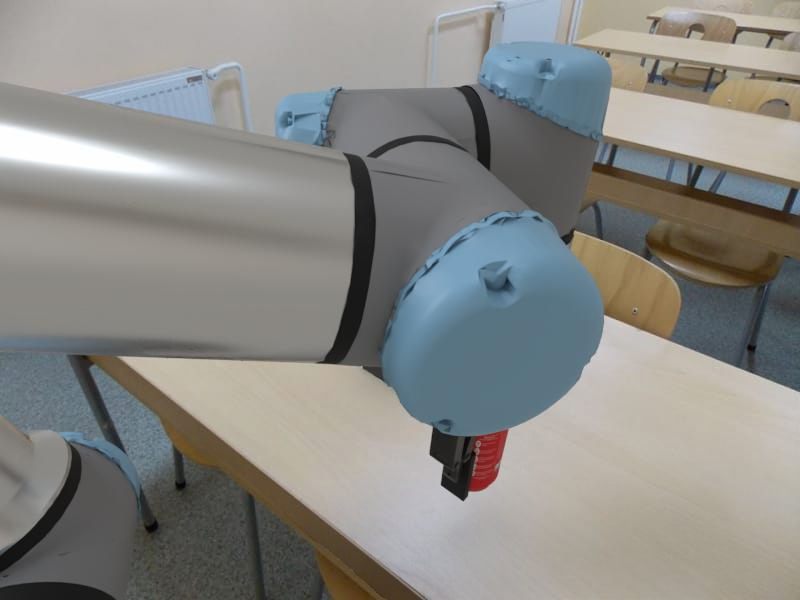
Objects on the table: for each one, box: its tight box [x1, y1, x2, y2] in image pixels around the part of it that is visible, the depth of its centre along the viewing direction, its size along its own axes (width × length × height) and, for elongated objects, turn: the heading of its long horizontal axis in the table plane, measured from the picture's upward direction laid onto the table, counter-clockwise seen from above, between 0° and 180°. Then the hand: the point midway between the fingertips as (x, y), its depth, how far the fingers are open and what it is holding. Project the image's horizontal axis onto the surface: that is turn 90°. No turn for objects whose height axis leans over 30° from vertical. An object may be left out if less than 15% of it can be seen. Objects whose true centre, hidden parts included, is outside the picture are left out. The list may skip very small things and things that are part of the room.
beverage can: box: [469, 428, 510, 493], centre depth 48 cm, size 5×5×12 cm
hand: (471, 470), depth 52 cm, fingers closed on beverage can, 5 cm apart
